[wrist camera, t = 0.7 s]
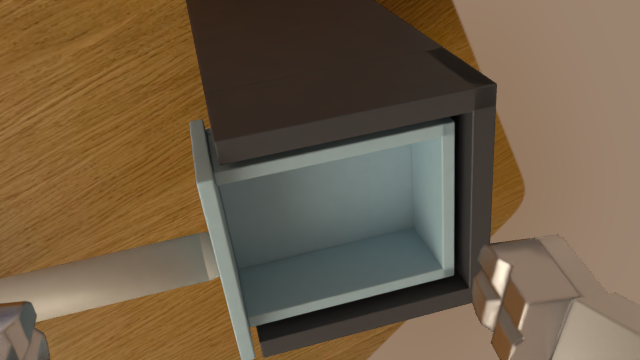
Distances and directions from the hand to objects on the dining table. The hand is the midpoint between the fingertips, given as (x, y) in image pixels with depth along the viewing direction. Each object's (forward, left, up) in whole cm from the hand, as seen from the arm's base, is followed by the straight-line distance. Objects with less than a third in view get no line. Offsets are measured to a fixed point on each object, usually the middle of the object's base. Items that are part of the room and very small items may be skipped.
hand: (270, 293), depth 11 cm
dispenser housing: (+7, +5, -37) cm, 38 cm away
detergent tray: (+7, -1, -16) cm, 17 cm away
